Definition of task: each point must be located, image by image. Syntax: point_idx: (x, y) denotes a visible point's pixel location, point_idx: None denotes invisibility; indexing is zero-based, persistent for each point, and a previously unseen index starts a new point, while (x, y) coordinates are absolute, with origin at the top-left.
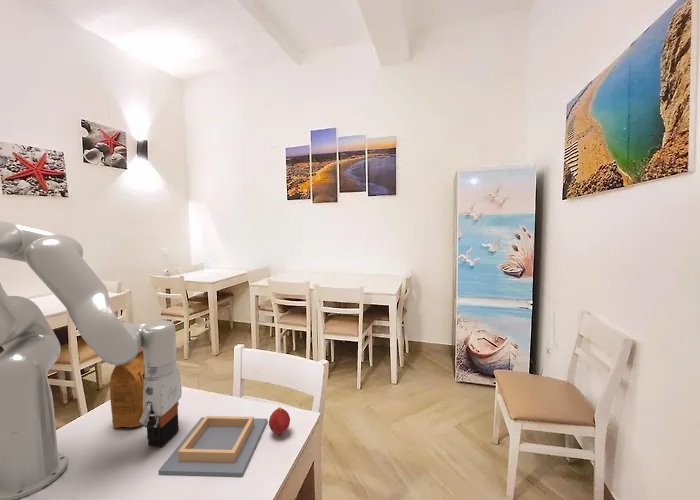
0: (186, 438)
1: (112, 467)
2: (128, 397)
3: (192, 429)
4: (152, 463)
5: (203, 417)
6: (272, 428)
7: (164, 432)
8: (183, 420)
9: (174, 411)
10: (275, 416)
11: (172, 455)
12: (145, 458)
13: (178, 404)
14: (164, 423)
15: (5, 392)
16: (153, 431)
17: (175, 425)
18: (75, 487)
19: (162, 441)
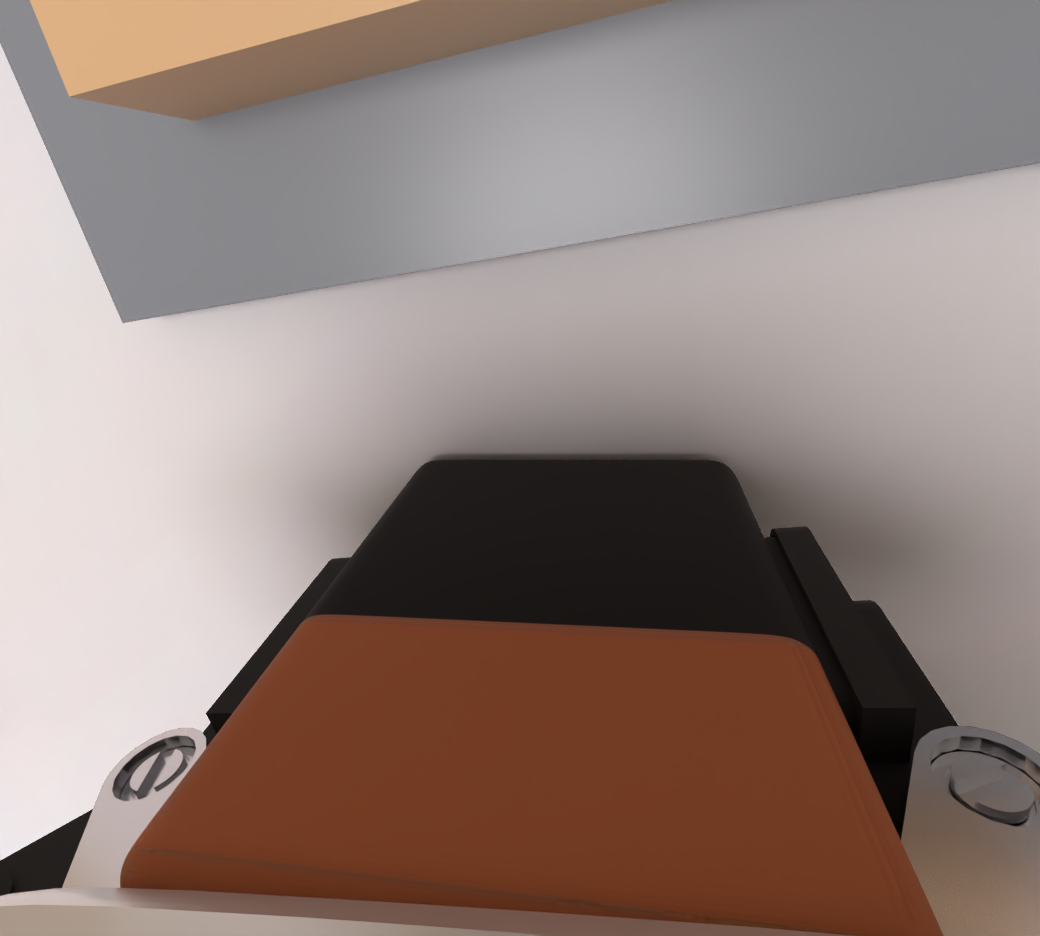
0: (567, 210)
1: (1021, 731)
2: None
3: (371, 266)
4: (1009, 383)
5: (112, 291)
6: None
7: (705, 543)
8: (253, 531)
9: (367, 695)
10: None
11: (985, 140)
12: (903, 523)
13: (145, 746)
14: (725, 656)
15: None
16: (937, 705)
17: (452, 512)
18: None
19: (735, 489)
